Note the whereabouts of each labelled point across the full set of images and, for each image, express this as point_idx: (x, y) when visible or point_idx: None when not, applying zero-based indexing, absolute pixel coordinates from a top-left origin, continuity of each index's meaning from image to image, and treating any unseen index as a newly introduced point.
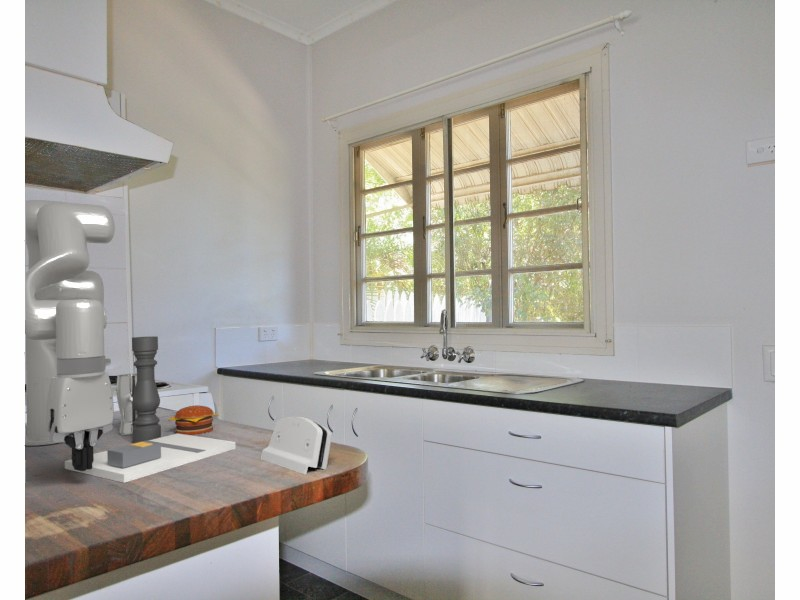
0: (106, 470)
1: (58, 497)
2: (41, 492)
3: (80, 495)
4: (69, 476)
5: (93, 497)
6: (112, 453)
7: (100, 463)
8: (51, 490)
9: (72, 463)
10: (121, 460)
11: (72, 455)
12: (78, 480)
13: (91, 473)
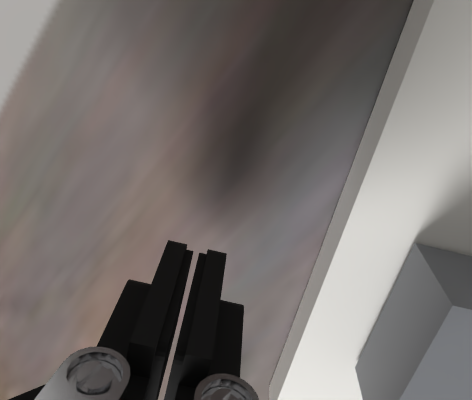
0: (316, 303)
1: (30, 272)
2: (35, 126)
3: (87, 336)
4: (317, 9)
5: None
6: (417, 344)
7: (465, 150)
8: (78, 152)
9: (127, 287)
10: (368, 391)
11: (108, 328)
12: (256, 150)
13: (362, 146)
